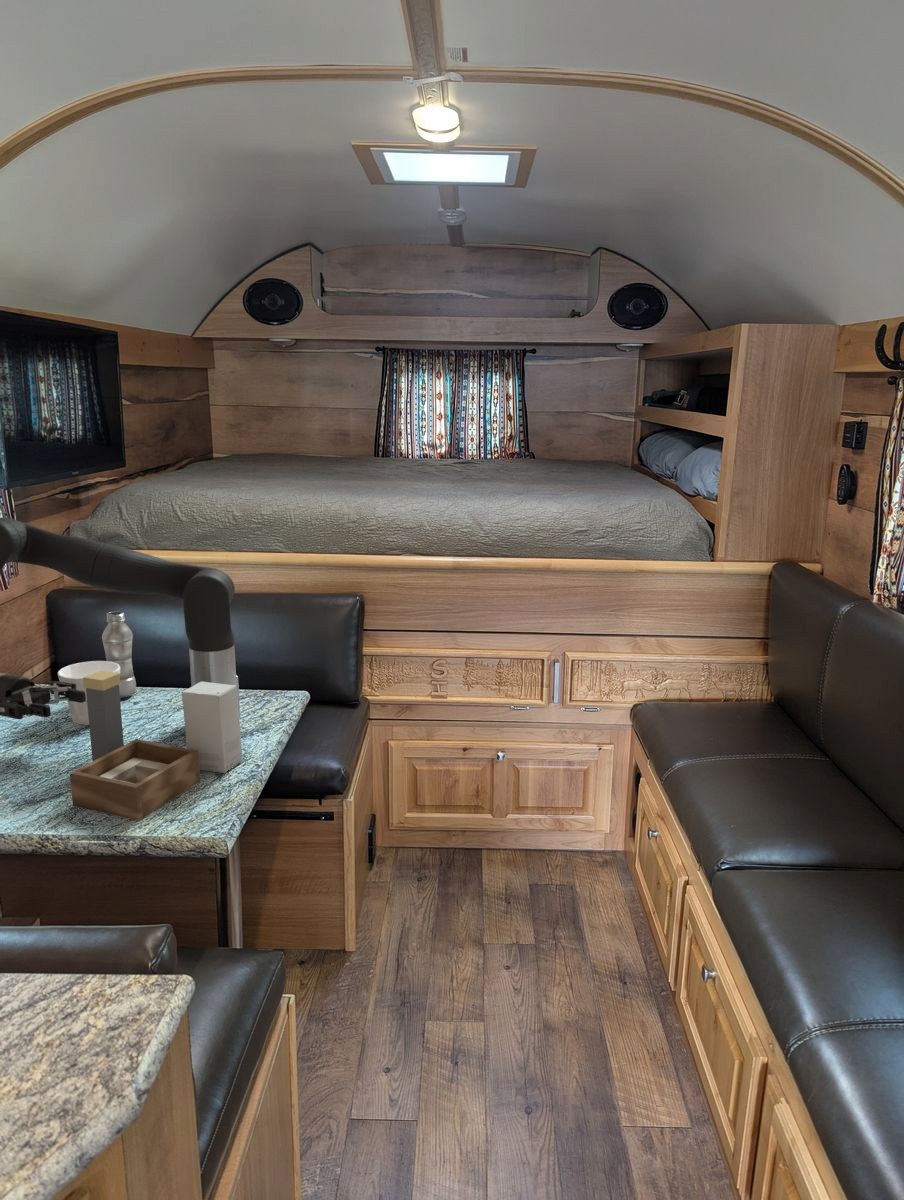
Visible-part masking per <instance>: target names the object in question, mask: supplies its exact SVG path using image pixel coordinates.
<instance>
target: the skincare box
mask: <svg viewBox="0 0 904 1200" xmlns="http://www.w3.org/2000/svg"><path fill="white" fill-rule="evenodd" d="M181 699H182V709H183V717H184V729H185V731H184V732H185V738H186V739H185V740H186V749H190V750H195V751H198V753H199V769H200V770H201V771H206V770H207V771H206V772H212V771H213V773H220V774H226V773H227V771H228V770H229V771H230V770H232V769H233V768H235V767H236V766H237V765H239V764H240V763H241V762H242V761H243V749H242V748H243V747H242V739H241V737H242V736H241V723H240V717H239V710H238V697H237V685H228V684H218V683H210V682H199V683H197V684H196V685H194V686H192V687H191V686H190V687H189V688H187V689H184V690H183V691H181ZM240 761H241V762H240ZM239 762H240V763H239ZM238 763H239V764H238ZM236 764H237V765H236ZM235 765H236V766H235ZM234 766H235V767H234ZM232 767H233V768H232ZM231 768H232V769H231ZM229 771H228V772H229Z"/></svg>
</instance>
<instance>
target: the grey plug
mask: <svg viewBox="0 0 904 1200" xmlns="http://www.w3.org/2000/svg"><path fill="white" fill-rule="evenodd" d="M83 681H84V688H86V695H87V706H88V717H89V725H88V726H89V728H88V729H89V737H90V748H91V759H92V761H91V762H93V761H94V760H96V759H98V758H100V757H102V756H104V755H106V754H108V753H110V752H112V751H114V750H116V749H118V748H120V747H122V746H124V745H125V743H124V733H123V732H124V731H123V730H124V729H123V719H122V706H121V705H122V704H121V698H120V692H119V684H120V673H114V672H108V671H98V672H96V673H93V674H90V675H88V676H85V677H83Z"/></svg>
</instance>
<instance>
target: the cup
mask: <svg viewBox="0 0 904 1200" xmlns="http://www.w3.org/2000/svg"><path fill="white" fill-rule="evenodd" d="M98 671H108V672H114V673H120V666H119V665H118V664H117V663H114V662H108V661H106V660H92V661H82V662H77V663H72V664H69V665H67V666H64V667H62V668H60V669H59V670H58V672H57V677H58V680H59V682H66V683H74V684H76V690H80V691H84V692H85V696H86V701H85V702H83V703H79V702H74V701H69V700H66V701H67V704H68V707H69V711H70V714H71V720H72V722H73V723H74V724H76V723H77V724H76V725H80V724H84V725H83V726H89V717H88V706H87V695H86V688H84V681H83V677H85V676H88V675H90V674H93V673H96V672H98ZM85 724H86V725H85Z"/></svg>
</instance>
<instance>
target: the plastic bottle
mask: <svg viewBox="0 0 904 1200" xmlns="http://www.w3.org/2000/svg"><path fill="white" fill-rule="evenodd" d="M106 622H107V623H108V624H107V626H106V627H105V628H104V631H103V632H102V635H101V639H102V644H103V645H102V646H103V648H104V649H103V650H104V652H105V659H106V660H105V661H108V662H114V663H117V664H118V665H119V666H120V684H119V692H120V699H123V698H127V697H130V696H133V695H134V694H135V692H136V691H137V690H136V689H137V682H136V678H135V675H134V669H133V668H134V667H133V659H132V655H133V654H132V652H133V651H132V648H133V638H134V635H133V632H132V629H131V628H130V627H129V626H128V625H127V624H126V623H125V622H126V618H125V612H124V611H111V612H107V613H106Z"/></svg>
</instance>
